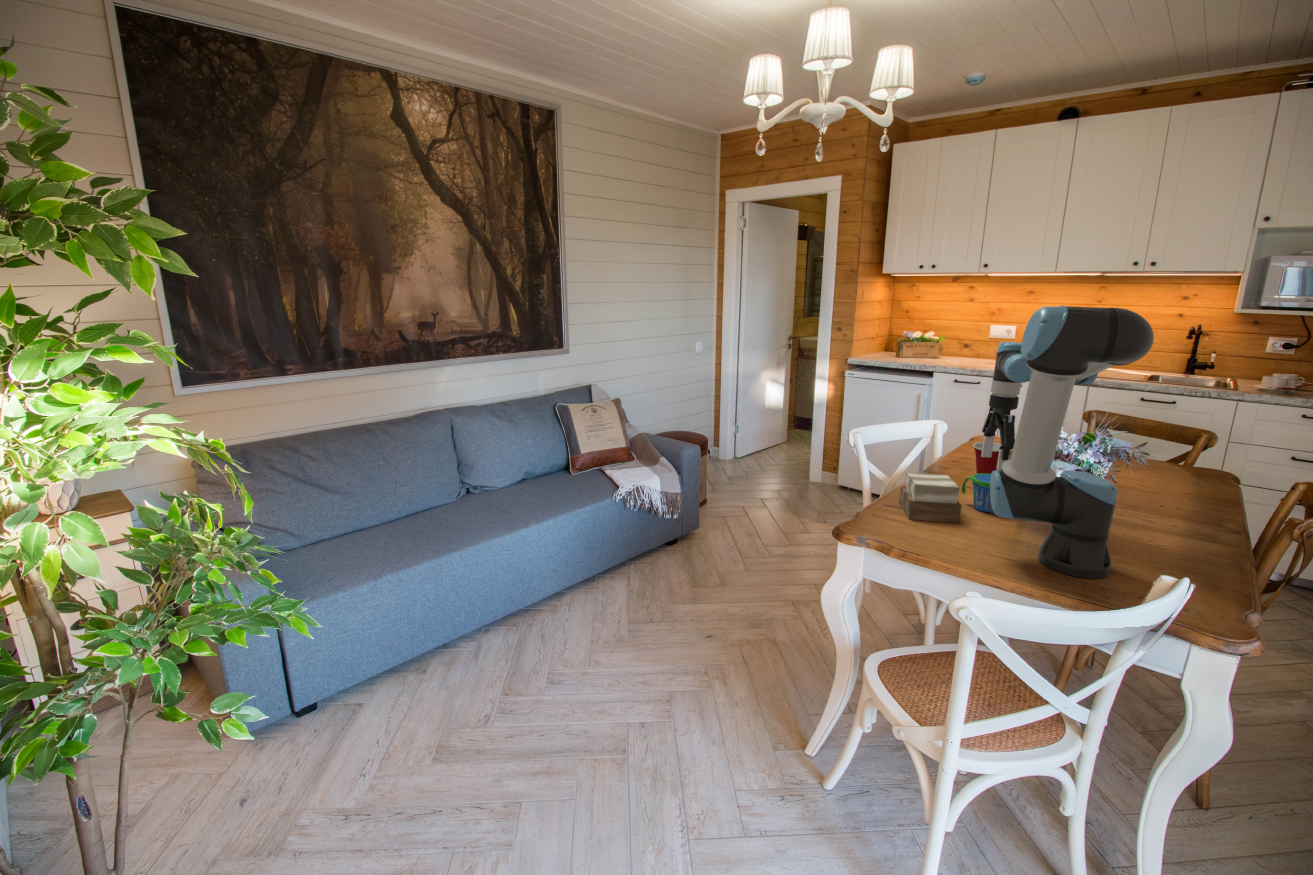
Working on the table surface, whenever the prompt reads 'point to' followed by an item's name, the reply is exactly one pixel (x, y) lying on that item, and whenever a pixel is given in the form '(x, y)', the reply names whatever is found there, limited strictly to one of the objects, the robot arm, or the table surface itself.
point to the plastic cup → (986, 459)
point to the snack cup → (980, 492)
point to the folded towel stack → (930, 498)
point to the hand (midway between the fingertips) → (993, 463)
